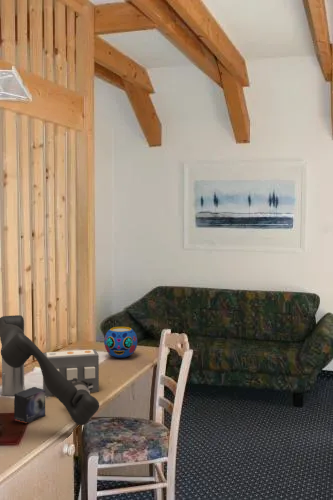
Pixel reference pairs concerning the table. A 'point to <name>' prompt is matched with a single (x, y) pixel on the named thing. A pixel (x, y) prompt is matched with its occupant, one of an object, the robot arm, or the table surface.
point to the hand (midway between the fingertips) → (74, 380)
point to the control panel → (75, 365)
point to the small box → (29, 404)
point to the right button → (89, 372)
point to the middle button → (71, 373)
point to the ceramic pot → (120, 342)
